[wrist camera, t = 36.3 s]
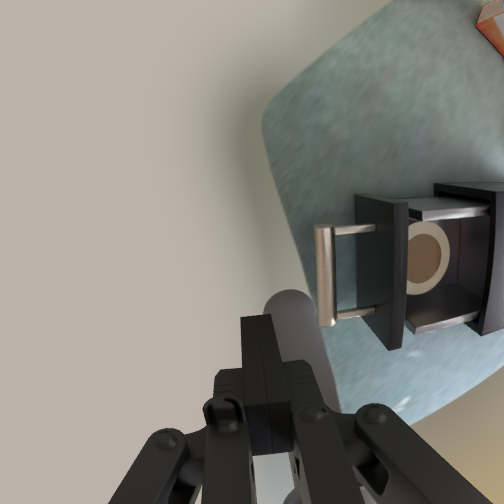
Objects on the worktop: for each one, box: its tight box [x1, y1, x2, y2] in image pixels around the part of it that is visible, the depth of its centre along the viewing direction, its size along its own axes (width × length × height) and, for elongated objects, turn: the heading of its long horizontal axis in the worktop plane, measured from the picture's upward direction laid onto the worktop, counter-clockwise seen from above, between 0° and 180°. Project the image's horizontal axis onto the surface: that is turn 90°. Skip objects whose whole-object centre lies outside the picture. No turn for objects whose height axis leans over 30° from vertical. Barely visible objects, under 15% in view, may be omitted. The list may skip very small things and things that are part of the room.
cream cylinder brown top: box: [407, 217, 450, 295], centre depth 26 cm, size 7×7×3 cm
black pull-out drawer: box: [313, 194, 490, 351], centre depth 25 cm, size 18×11×8 cm, turn 96°
